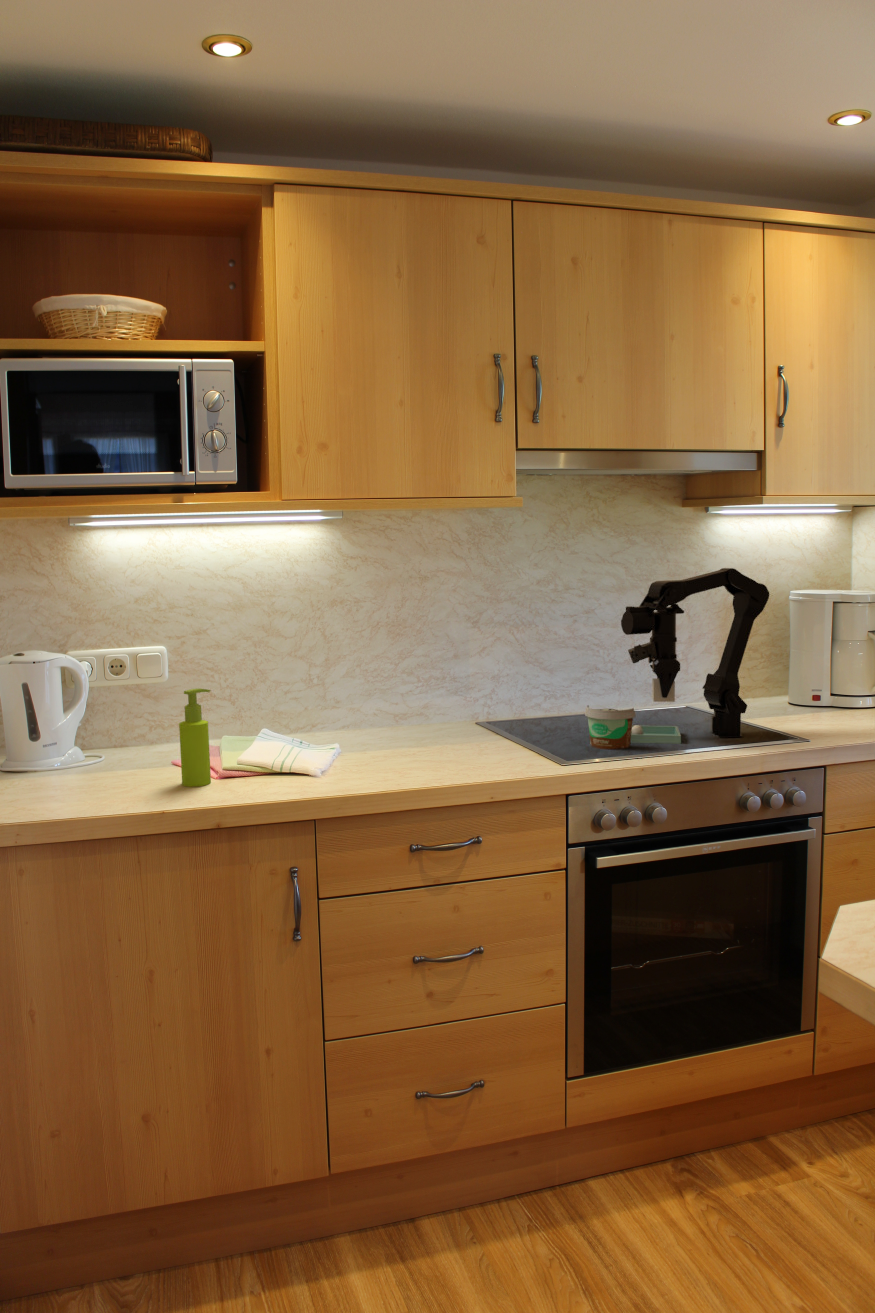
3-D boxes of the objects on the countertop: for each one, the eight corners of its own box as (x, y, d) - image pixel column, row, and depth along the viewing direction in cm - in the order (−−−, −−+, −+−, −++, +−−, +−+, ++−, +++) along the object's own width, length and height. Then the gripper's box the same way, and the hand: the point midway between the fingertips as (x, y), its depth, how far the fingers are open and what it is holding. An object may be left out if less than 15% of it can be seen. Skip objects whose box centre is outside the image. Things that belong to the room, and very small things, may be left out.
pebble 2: (643, 738, 232) (643, 727, 231) (643, 740, 229) (643, 729, 229) (631, 738, 232) (631, 727, 232) (631, 740, 230) (631, 729, 229)
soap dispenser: (220, 781, 198) (216, 688, 196) (192, 788, 193) (187, 692, 191) (204, 777, 202) (200, 686, 200) (176, 784, 197) (171, 690, 194)
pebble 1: (642, 735, 236) (642, 724, 235) (642, 737, 233) (642, 726, 233) (631, 734, 236) (631, 724, 236) (631, 737, 233) (631, 726, 233)
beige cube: (672, 698, 232) (672, 678, 231) (674, 701, 227) (674, 681, 226) (652, 698, 232) (652, 678, 232) (653, 701, 227) (653, 681, 227)
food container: (577, 750, 222) (577, 708, 221) (586, 745, 228) (586, 704, 227) (628, 754, 217) (628, 712, 216) (635, 749, 222) (635, 708, 221)
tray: (677, 735, 237) (677, 726, 237) (680, 746, 225) (680, 735, 225) (624, 735, 239) (624, 725, 239) (624, 744, 227) (625, 734, 227)
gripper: (628, 629, 238) (628, 690, 240) (632, 636, 220) (632, 702, 222) (673, 629, 236) (672, 690, 238) (680, 636, 218) (680, 702, 220)
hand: (663, 695), depth 229 cm, fingers closed on beige cube, 5 cm apart
